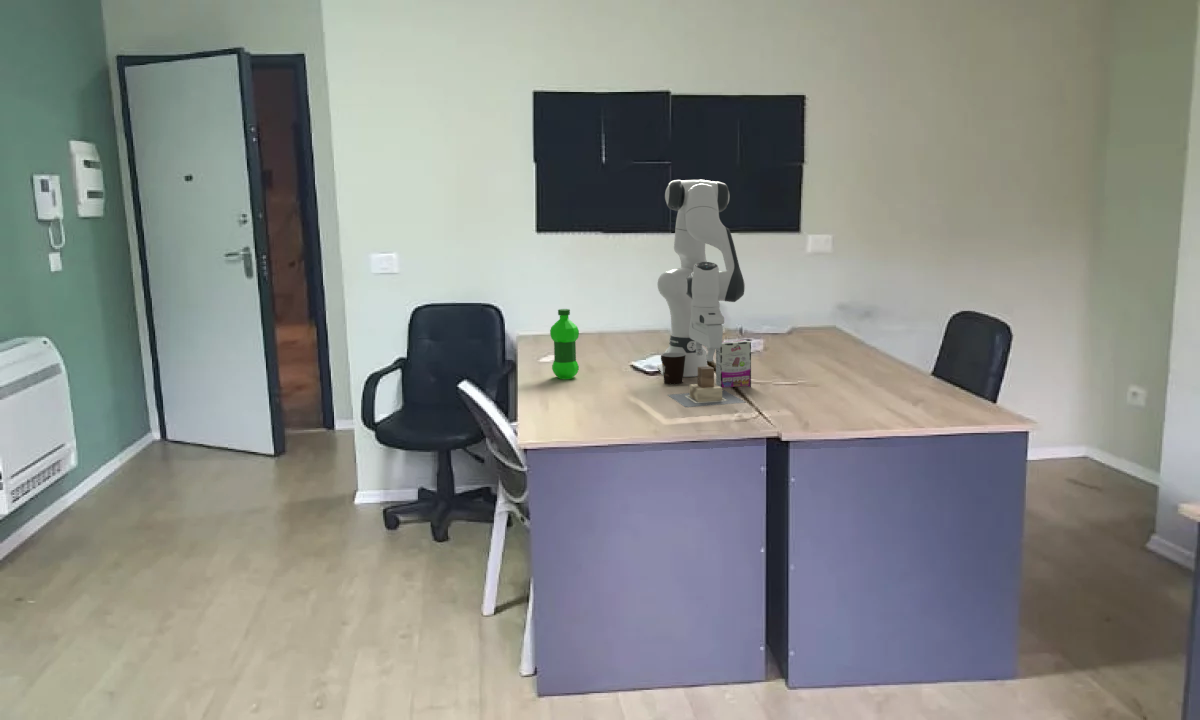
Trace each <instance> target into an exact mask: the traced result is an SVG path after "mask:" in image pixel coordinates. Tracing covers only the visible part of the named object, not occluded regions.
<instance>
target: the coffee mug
mask: <svg viewBox="0 0 1200 720" xmlns="http://www.w3.org/2000/svg"><path fill="white" fill-rule="evenodd" d="M685 356H686V354H684V353H677V352H670V353H665V352H664V353H660V360H661V359H662V361H661V364H662V367H663V375H662V376H663V383H664V384H665V385H680V384H683V380H684V377H683V373H684V365H685Z"/></svg>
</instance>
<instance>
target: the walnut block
mask: <svg viewBox="0 0 1200 720" xmlns="http://www.w3.org/2000/svg"><path fill="white" fill-rule="evenodd" d="M697 384H698V386H700V387H701V388H707V387H714V384H715V368H714V367H712V366H710V365H707V366H703V367H698V376H697Z"/></svg>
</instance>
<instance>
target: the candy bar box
mask: <svg viewBox="0 0 1200 720" xmlns="http://www.w3.org/2000/svg"><path fill="white" fill-rule="evenodd" d="M715 384H716V385H718V386H720V387H722V388H733V387H744V386H745V387H746V386H748V387H749V388H752V341H749V340H747V339H742V340H741V339H740V340H739V339H738V340H726V341H722V345H721V348H720V349H715Z"/></svg>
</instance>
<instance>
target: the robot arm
mask: <svg viewBox="0 0 1200 720" xmlns="http://www.w3.org/2000/svg"><path fill="white" fill-rule="evenodd" d="M664 199H665V202H666V207H668V208H669V209H670V210H672V211H675V212H677V215H676V220H675V230H674V231H675V232H674V242H673V244H674V245H673V249H674V252H675V253H676V254H677V255H678V256H679V259H680V265H681V266H680V267H679V268H672V269H669V270H667V271H665V272H663V273H661V274H660V275H659V277H658V280H657V291H658V292H659V294H660V295H661V296H662V297H663V298H664V300H665V302H666V303H667V306H668V308H669V313H670V323H671V324H670V327H671V331H670V333H671V335H670V336H669V342H668V344H669V346H668V347H667V348H666V350H665V351H664V353H670V352H677V353H684V354H686V356H685V365H684V373H683V378H684V377H685V378H686V377H689V378H690V377H698V367H703V366H708V362H713V361H714V356H715V355H714V354H716V349H720V348H721V345H722V342H723V334H724V333H723V332H724V328H723V324H724V323H725V317H724V315H723V314H722V313H721V308H720V307H721V306H720V305H721V304H720V302H727V303H728V302H730V303H735V302H737V301H738V300H740V299H741V298H742V297H743V296H744V294H745V289H746V286H745V285H746V283H745V280H744V279H745V278H743V274H742V271H741V267H740V263H739V259H738V256H737V252H736V247H735V242H734V239H733V236H732V232H731V230H730V228H728V227H727V226H725V225H724V224H723V223H722V220H721V219H720V213H721V212H723V211H724V210H726V209H727V208H728V207H727V206H728V204H729V202H730V191H729V187H728V185H727V184H726V183H724V182H721V181H718V180H717V181H714V180H712V181H711V180H707V179H706V180H705V179H685V180H681V179H674V180H671V181H670V182H669V183H668V184H667V187H666V189H665V193H664ZM706 244H707V245H710V246H712V247H714V248H716V249H718V251H720V252H721V254H722V257H723V261H724V266H725V270H720V268H719V265H718V264H717V263H715V262H711V261H708V260H707V257H706ZM704 347H706V348H704ZM660 361H661V362H662V359H661V358H660ZM658 367H659V369H660V371H661V372H660V371H659V372H660V374H661V375H662V376H663V367H662V363H661V364H658V365H657V368H658ZM659 369H658V370H659Z"/></svg>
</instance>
